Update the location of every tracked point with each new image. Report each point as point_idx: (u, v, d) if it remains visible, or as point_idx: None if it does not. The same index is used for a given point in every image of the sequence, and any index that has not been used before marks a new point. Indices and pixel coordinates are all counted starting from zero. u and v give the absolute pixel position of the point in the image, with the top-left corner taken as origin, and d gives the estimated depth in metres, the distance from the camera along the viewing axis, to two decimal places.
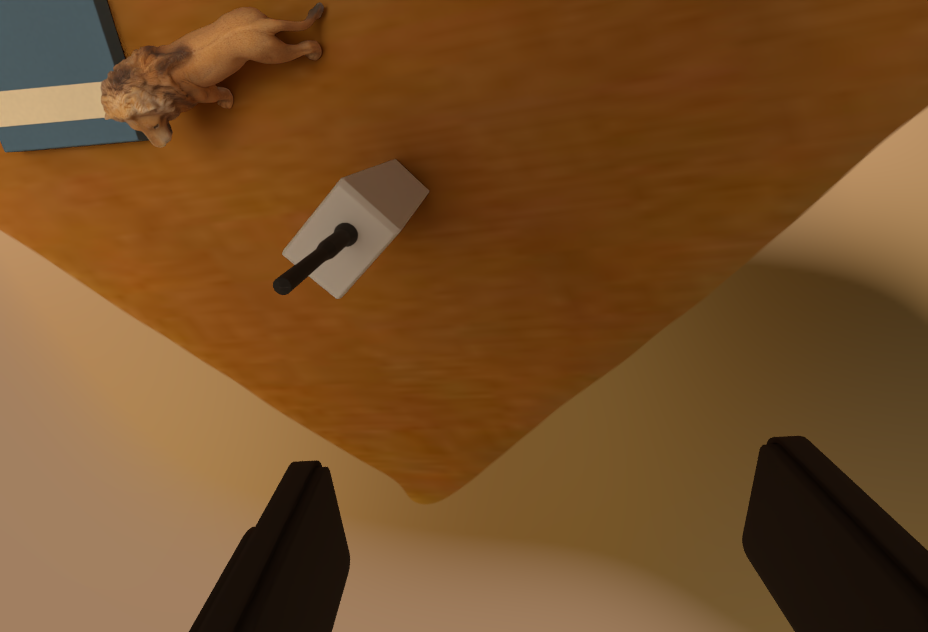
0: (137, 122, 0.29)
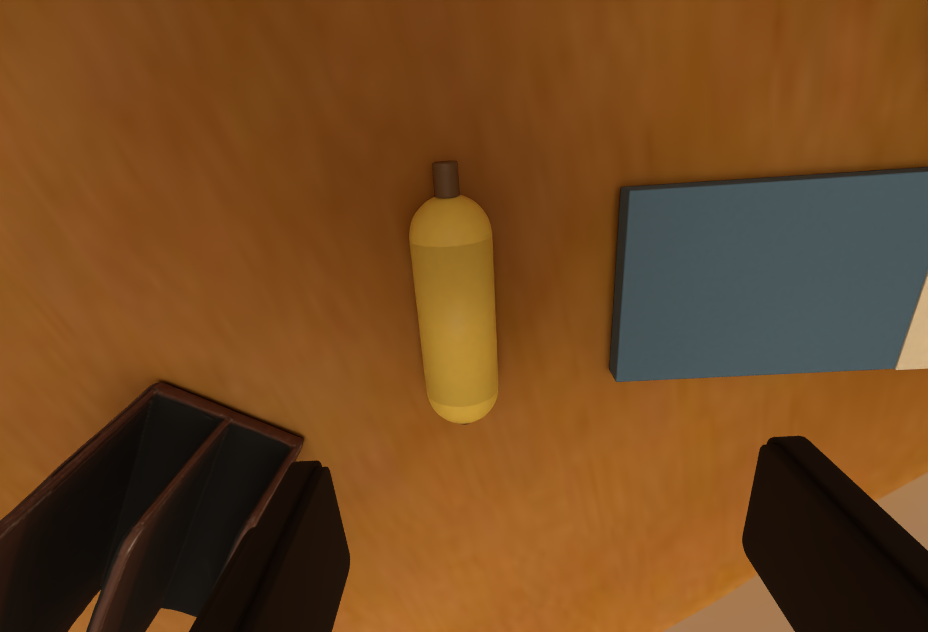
0: None
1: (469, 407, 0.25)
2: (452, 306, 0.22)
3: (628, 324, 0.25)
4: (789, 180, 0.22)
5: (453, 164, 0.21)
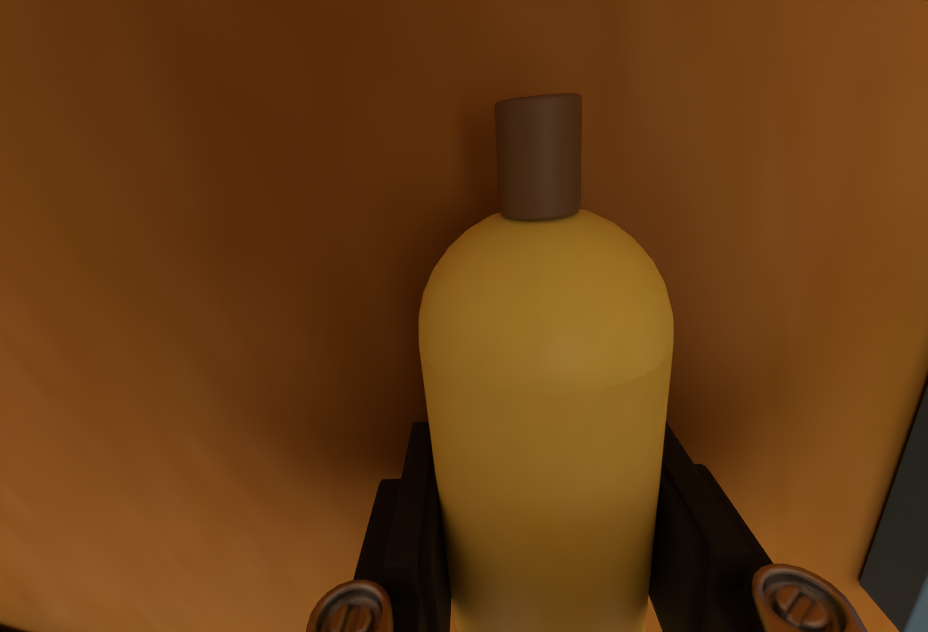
0: None
1: None
2: (558, 562, 0.07)
3: None
4: None
5: (574, 102, 0.06)
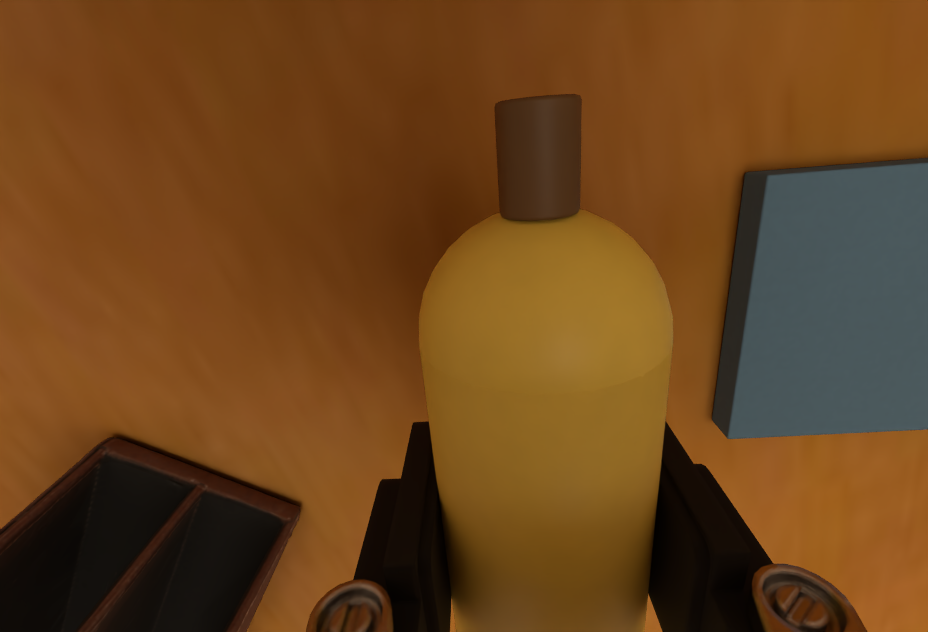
0: None
1: None
2: (558, 561, 0.07)
3: (752, 362, 0.18)
4: None
5: (574, 102, 0.06)
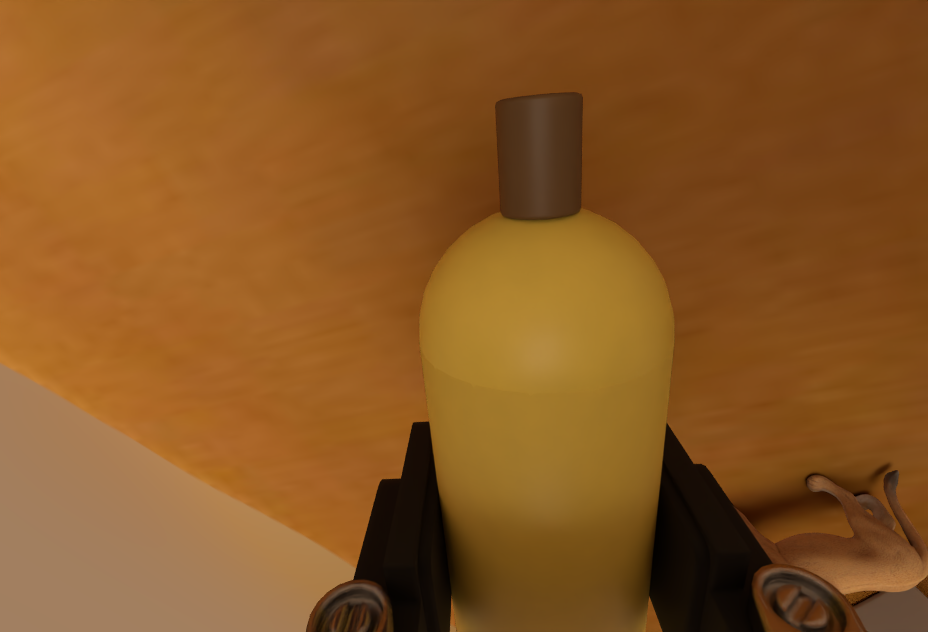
0: None
1: None
2: (559, 561, 0.07)
3: None
4: None
5: (575, 101, 0.06)
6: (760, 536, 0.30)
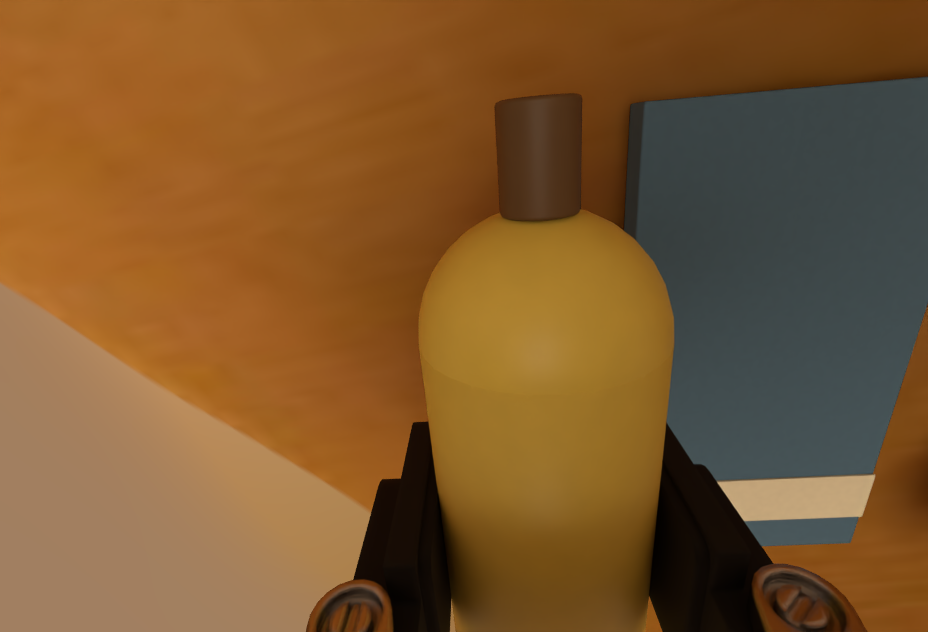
0: None
1: None
2: (558, 563, 0.07)
3: (759, 108, 0.15)
4: (925, 303, 0.17)
5: (574, 102, 0.06)
6: None
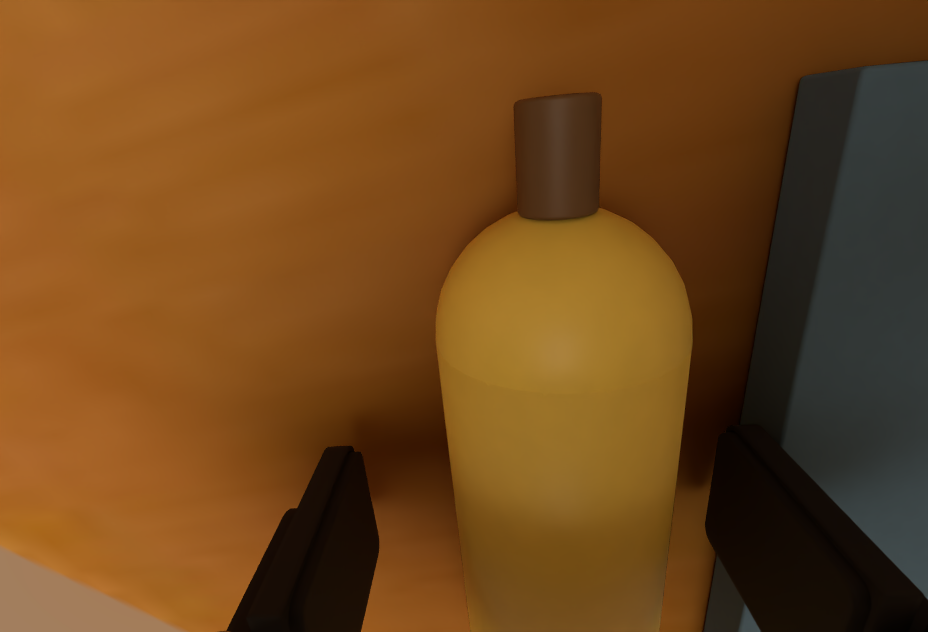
0: None
1: None
2: (572, 559, 0.07)
3: None
4: None
5: (593, 101, 0.06)
6: None
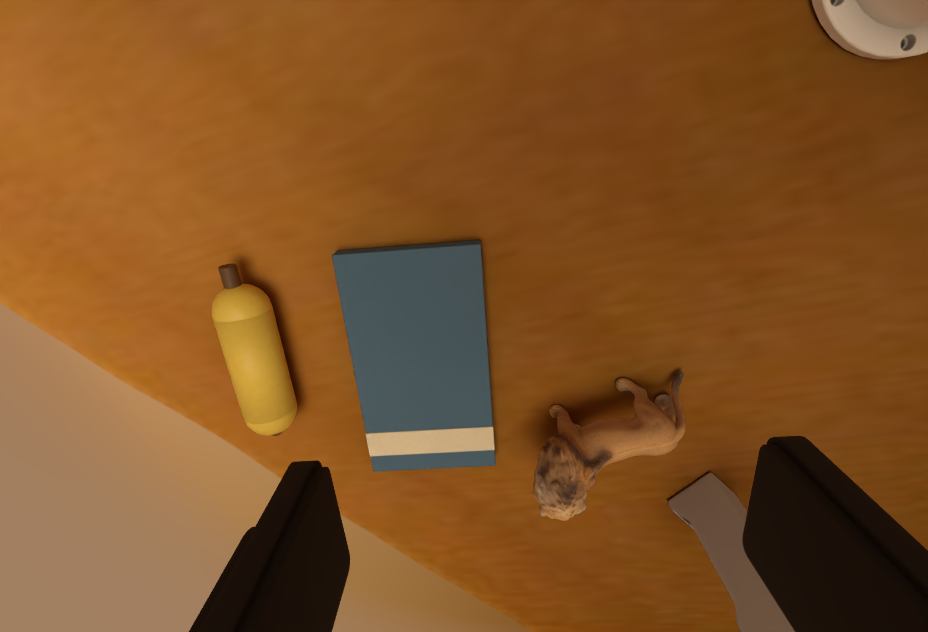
0: None
1: None
2: None
3: (382, 258, 0.34)
4: (486, 340, 0.36)
5: (219, 269, 0.33)
6: (570, 423, 0.37)
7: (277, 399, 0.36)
